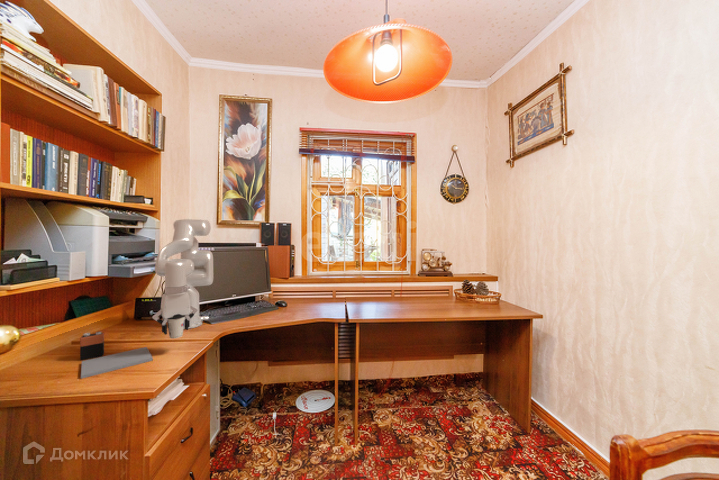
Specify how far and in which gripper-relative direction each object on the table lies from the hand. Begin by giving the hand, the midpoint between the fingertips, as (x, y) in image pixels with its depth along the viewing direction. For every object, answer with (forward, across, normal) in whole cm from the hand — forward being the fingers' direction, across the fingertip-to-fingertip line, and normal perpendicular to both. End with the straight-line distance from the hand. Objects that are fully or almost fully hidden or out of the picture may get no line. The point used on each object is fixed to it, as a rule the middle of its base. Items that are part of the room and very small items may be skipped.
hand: (176, 331), depth 115 cm
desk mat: (+9, +18, -6) cm, 22 cm away
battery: (+10, +25, -20) cm, 34 cm away
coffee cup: (+3, 0, 0) cm, 3 cm away
